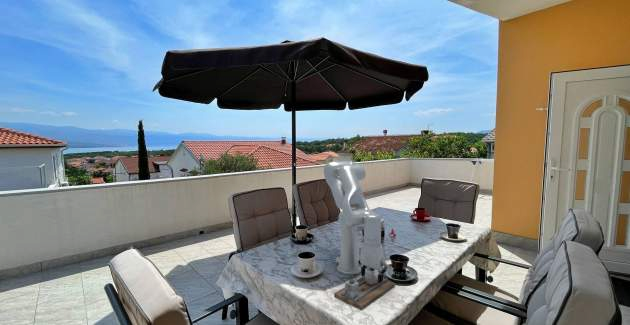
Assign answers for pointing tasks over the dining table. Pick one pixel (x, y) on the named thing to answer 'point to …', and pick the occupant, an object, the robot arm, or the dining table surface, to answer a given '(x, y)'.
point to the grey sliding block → (371, 275)
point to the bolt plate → (363, 292)
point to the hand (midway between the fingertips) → (371, 278)
